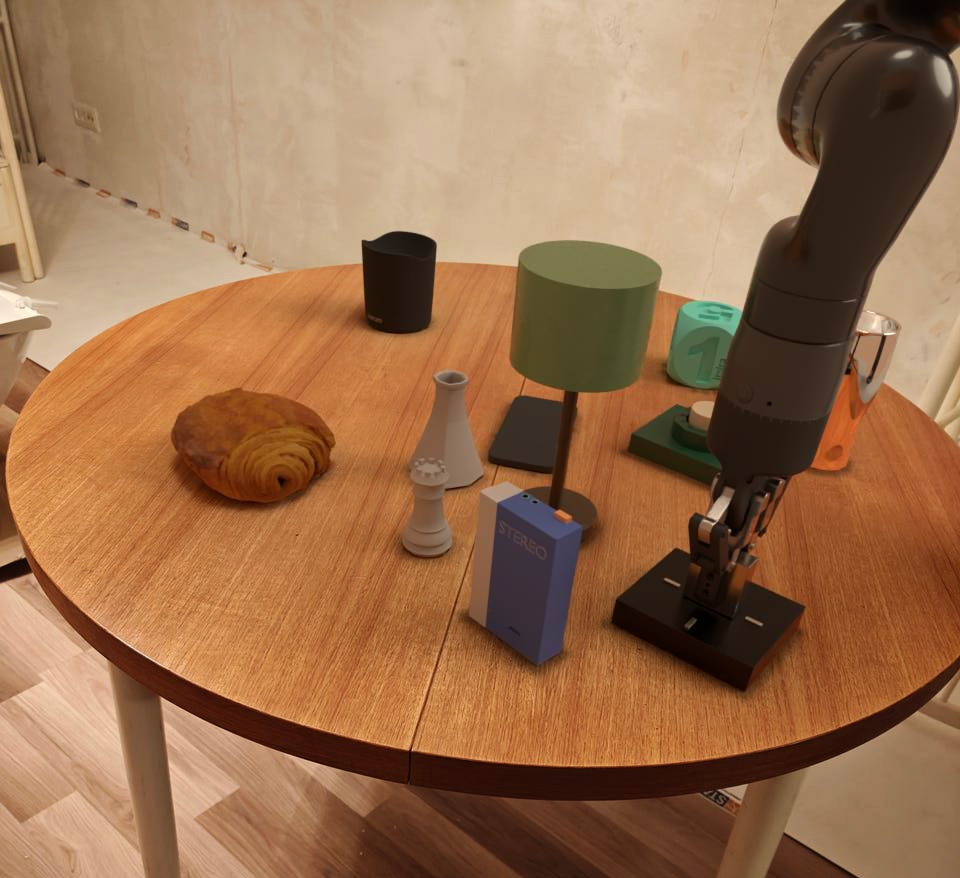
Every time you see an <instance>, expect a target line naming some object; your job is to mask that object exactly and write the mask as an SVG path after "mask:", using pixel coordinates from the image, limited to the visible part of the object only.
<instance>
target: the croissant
mask: <svg viewBox="0 0 960 878" xmlns="http://www.w3.org/2000/svg"><path fill="white" fill-rule="evenodd" d="M170 440H171V443H172V445H173V448H174V450H175V452H177V454H178V455H179V457H180V458H181V459H182V460H183V462H184V463H185V465H186V466H187V467H189V468H190V469H191V470H192V471H193V472H194V473H195V474H196V476H197V477H199V479H200V480H202V481H203V482H204V484H206V486H208V487H209V488H211V489H212V490H213V491H217V493H220V494H222V495H223V496H224V497H227V498H229V499H234V500H238V501H242V502H245V501H247V502H251V501H253V502H257V503H263V504H268V503H271V502H279V501H281V500H283V499H285V498H286V497H288V496H291V495H293V494H294V493H295V492H296V491H298V490H303V489H305V488H307V486H308V484H309V481H310V480H311V481H312V480H315V479H317V478H319V477H320V475H321V474H323V473H324V472H325V471H326V469H327V467H328V466H329V462H331V461H332V459H331V458H330V456H331V452H332V449H334V447H336V445H337V442H336V440H335V435H334V433H333V431H332V430H331V428H330V427H329V426H328V424H327V423H326V422H325V420H323V418H322V417H321V416H320V415H319V413H317V412H316V410H314V409H312V408H310V407H308V406H307V405H305V404H302V403H300V402H298V401H296V400H294V399H291V398H287V397H283V396H280V395H279V394H278V393H277V394H276V393H267V392H255V391H250V390H244V389H243V388H242V387H236V388H231V389H229V390H225V391H220V392H217V393H213V394H209V395H205V396H204V397H203V398H201V399H200V400H198V401H197V402H195V403H193V404H188V405H187V406H186V407H185V408H184V410H182V411H180V412H179V413H178V415H177V416H176V418H175V421H174V425H173V427H172V428H171V432H170Z"/></svg>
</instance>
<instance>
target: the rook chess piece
mask: <svg viewBox="0 0 960 878" xmlns="http://www.w3.org/2000/svg"><path fill="white" fill-rule="evenodd" d="M409 476H410V478H411V481H413V483H414V484H415V485H414V486H413V488H412V494H413V495H414V499H413V500H414V501H413V507H412V512H411V515H409V516H408V520H407V521H406V522H405V524H404V526H403V530H402V534H403V535H402V538H401V542H402V544H403V546H404V548H405V549H406V550H407V551H408V552H409V553H411V554H412V555H415V556H418V557H421V558H422V557H423V558H434V557H435V558H436V557H439V556H441V555H443V554H445V552H447V551H448V550H449V549H450V548H451V547H452V543H453V539H452V535H453V531H452V527H451V526H450V523H448V519H447V517H446V516H445V509H444V497H445V496H446V489H444V487H443V484H444V483H445V482H446V481H447V480H448V478H449V474H448V473H447V471H446V470H445V465H444V462H442V461H441V460H439V461H438V464H436V463H435V458H429V463H425V459H424V458H422V459H419V463H418V462H416V463H415V468H414V469H413V470H412V471H410V474H409Z"/></svg>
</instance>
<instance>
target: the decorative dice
mask: <svg viewBox="0 0 960 878" xmlns="http://www.w3.org/2000/svg"><path fill="white" fill-rule="evenodd" d="M742 313H743V310H741V309H740V308H737V307H736V306H733V305H731V304H727V303H723V302H718V301H713V300H693V301H688V302H685V303H684V304H683V305H681V306H680V307H679V308H678V310H677V312H676V317H675V321H674V325H673V330H672V334H671V340H670V345H669V350H668V357H667V364H666V373H667V374H668V376H669V377H670V378H671V379H672V380H673V381H675V382H677V383H679V384H681V385H683V386H687V387H690V388H694V389H701V390H716V389H717V390H718V388H719V384H720V381H721V377H722V373H723V369H724V365H725V362H726V358H727V354H728V350H729V347H730V344H731V341H732V339H733V336H734V334H735V332H736V329H737V327H738V324H739V322H740V319H741V315H742Z"/></svg>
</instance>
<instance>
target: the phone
mask: <svg viewBox="0 0 960 878" xmlns="http://www.w3.org/2000/svg"><path fill="white" fill-rule="evenodd" d="M562 404H563V401H561V400H555V399H548V398H543V397H537V396H531V395H522V394H521V395H516V396H515V397H514V398H513V400H512V402H511V404H510V406H509V409H508V410H507V412H506V414H505V416H504V419H503V420H502V423H501V425H500V427H499V429H498V431H497V432H496V435H495V437H494V439H493V441H492V443H491V445H490V448H489V449H488V453H487V455H488V456H487V458H488V461H490V462H491V463H493V464H496V465H502V466H505V467H511V468H517V469H522V470H529V471H534V472H539V473H544V474H545V473H546V474H551V473H552V474H553V468H554V461H555V454H556V447H557V440H558V433H559V426H560V419H561V411H562ZM578 408H579V407H578V405H577V406H576V413H575V420H574V422H575V421H576V418H577V414H578V410H579V409H578Z"/></svg>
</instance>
